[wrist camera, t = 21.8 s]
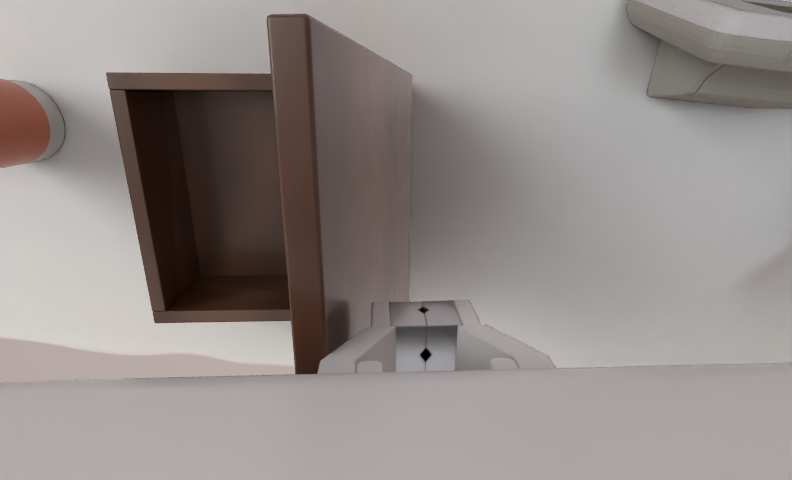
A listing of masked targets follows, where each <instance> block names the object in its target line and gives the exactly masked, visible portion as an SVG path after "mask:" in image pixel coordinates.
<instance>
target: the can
mask: <svg viewBox="0 0 792 480" xmlns="http://www.w3.org/2000/svg"><path fill="white" fill-rule="evenodd" d="M64 135H65V126H64V121H63V117H62V115H61V113H60V110H59V109H58V107H57V105H56V104H55V103H54V101H53V100H52V99H51V98H50V97H49V96H48V95H47V94H46V93H45V92H43V91H42V90H40V89H39V88H37V87H35V86H33V85H31V84H29V83H26V82H22V81H14V80H3V79H0V168H3V167H9V166H14V165H20V164H25V163H29V162H33V161H38V160H43V159H46V158H49V157H50V156H52V155H53V154H55V153H56V152H57V151H58V150H59V148H60V147H61V145H62V143H63V140H64Z"/></svg>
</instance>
